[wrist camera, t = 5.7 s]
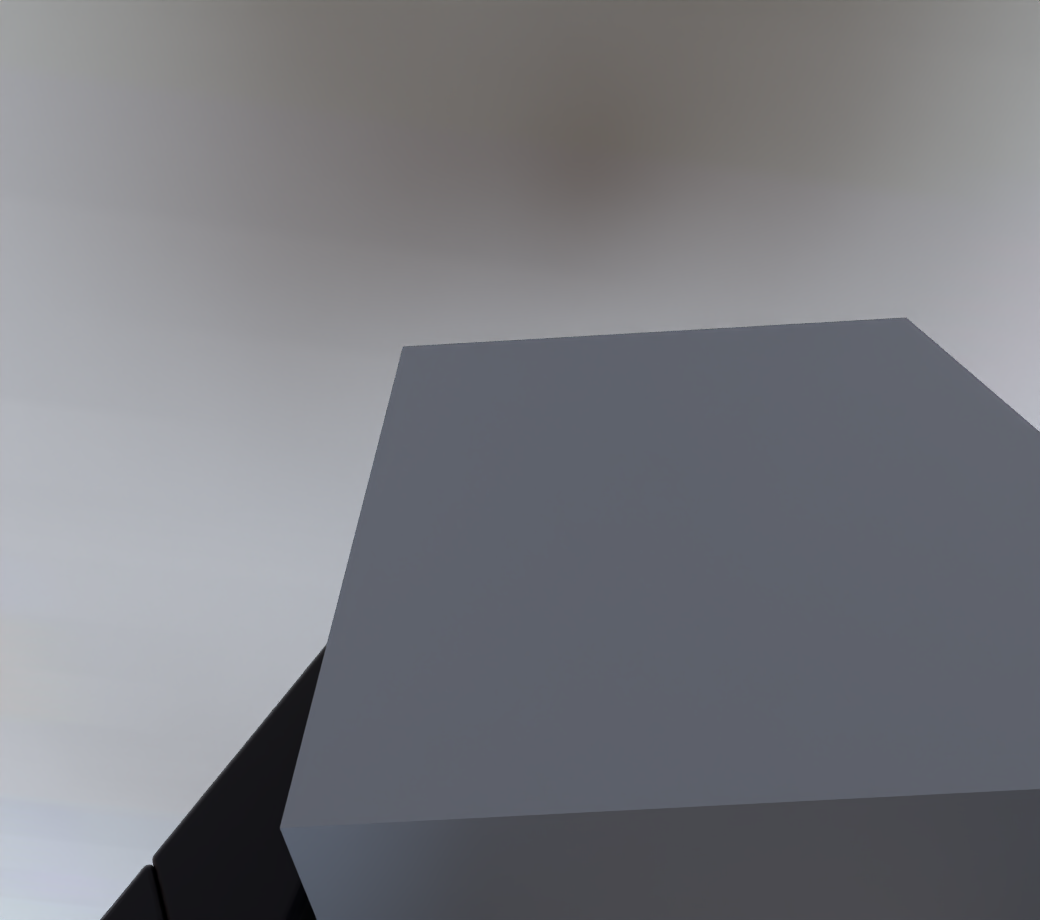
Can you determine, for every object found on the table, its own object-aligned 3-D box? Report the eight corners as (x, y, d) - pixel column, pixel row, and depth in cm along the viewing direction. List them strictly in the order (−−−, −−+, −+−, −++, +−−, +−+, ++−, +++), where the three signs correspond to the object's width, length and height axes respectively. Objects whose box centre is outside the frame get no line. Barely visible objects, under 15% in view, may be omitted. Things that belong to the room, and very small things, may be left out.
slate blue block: (454, 682, 10) (421, 1179, 6) (402, 347, 7) (280, 826, 3) (820, 663, 10) (1045, 1150, 6) (906, 317, 7) (1431, 767, 3)
